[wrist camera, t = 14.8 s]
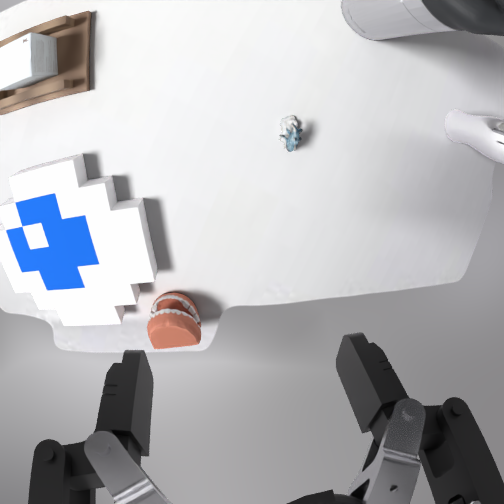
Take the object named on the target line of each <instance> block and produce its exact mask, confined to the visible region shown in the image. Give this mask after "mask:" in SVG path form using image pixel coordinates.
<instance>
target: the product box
mask: <svg viewBox="0 0 504 504" xmlns="http://www.w3.org/2000/svg"><path fill="white" fill-rule="evenodd" d="M57 75H58V64H57V38H55V37H51V36H46V35H42V34H37V33H32V32H31V33H28V34H26V35H24V36H22V37H20V38H18V39H16V40H14V41H12V42H10V43H8V44H6V45H5V46H3V47H1V48H0V91H3V90H12V89H20V88H26V87H29V86H31V85H33V84H36V83H38V82H41V81H43V80H46V79H49V78H51V77H54V76H57Z"/></svg>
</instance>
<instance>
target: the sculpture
mask: <svg viewBox="0 0 504 504" xmlns="http://www.w3.org/2000/svg"><path fill="white" fill-rule="evenodd" d="M280 126H281V131H282V132H281V133H282V135H280V139H279V140H280V141H281V142H282V143H284V149H285V148H286V149H287V150H288V151H289V152H291V151H293V150H294V151H295V149H296V147H297V145H298V142H299V141H300V140H301V137H299V134H300V132H302V129H297V127H298V123H297V121H296V120H295V116H289V117H286V118H282V120H281V123H280Z"/></svg>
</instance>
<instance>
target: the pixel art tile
mask: <svg viewBox="0 0 504 504" xmlns="http://www.w3.org/2000/svg"><path fill="white" fill-rule="evenodd" d="M9 181H10V185H11V189H12V193H13V198H10V199H8V200H7V201H6V202H4V203H3V204H2V205H0V214H1V218H2V221H3V224H0V259H1V262H2V264H3V267H4V269H5V271H6V274H7V276H8V278H9V280H10V282H11V285H12V287H13V289H14V291H15V293H21V292H31V294H32V296H33V298H34V300H35V302H36V304H37V306H38V308H39V310H45V309H56V311H57V313H58V315H59V317H60V319H61V321H62V323H63V324H64V326H80V325H107V324H121V323H122V320H123V316H124V312H125V308H124V306H123V305H134V304H137V301H138V297H139V293H140V288H139V285H138V283H147V282H155V279H156V274H157V270H158V268H157V263H156V259H155V255H154V250H153V246H152V241H151V236H150V231H149V227H148V222H147V216H146V211H145V206H144V200H143V198H138V199H131V200H124V201H118V202H117V197H116V192H115V187H114V182H113V176H107V177H101V178H96V179H91V180H88V178H87V173H86V168H85V163H84V157H83V154H80V155H75V156H71V157H67V158H63V159H59V160H55V161H52V162H48V163H44V164H41V165H37V166H34V167H30V168H27V169H24V170H21V171H19V172H17V173H15V174H14V175H12V176H10V177H9Z"/></svg>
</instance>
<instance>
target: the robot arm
mask: <svg viewBox="0 0 504 504" xmlns="http://www.w3.org/2000/svg"><path fill="white" fill-rule="evenodd" d="M341 8H342V13H343V15H344V18H345V20H346V21H347V23H348V25H349V26H350V27H351V28H352V29H353V30H354V31H355V32H356V33H358V34H359V35H361V36H363V37H365V38H367V39H371V40H383V39H389V38H396V37H402V36H409V35H416V34H425V33H434V32H445V31H460V30H461V31H462V30H466V31H468V32H471V33H475V34H486V35H499V36H504V0H342V7H341ZM336 368H337V372H338V374H339V377H340V379H341V382H342V384H343V387H344V389H345V391H346V394H347V396H348V399H349V401H350V404H351V406H352V409H353V411H354V414H355V416H356V418H357V421H358V424H359V426H360V429H361V431H362V433H365V432H368V431H371V432H372V434H373V437H372V439H371V441H370V444H369V447H368V449H367V452H366V455H365V457H364V460H363V463H362V465H361V468H360V470H359V472H358V475H357V476H356V478H355V479H354V481H353V483H352V484H351V486H350V488H349V490H348V492H347V494H346V495H342V494H334V493H333V490H328V491H325V492H321V493H316V494H311V495H307V496H304V497H301V498H299V499H297V500H295V501H292V502H290V503H287V504H410V501H411V498H412V495H413V491H414V488H415V485H416V481H417V478H418V474H419V470H420V465H421V463H422V466H423V468H424V471H425V474H426V477H427V480H428V482H429V485H430V488H431V491H432V494H433V497H434V500H435V503H436V504H504V483H503V480H502V478H501V476H500V473H499V471H498V468H497V466H496V463H495V461H494V459H493V457H492V454H491V452H490V450H489V448H488V446H487V444H486V441H485V439H484V437H483V435H482V433H481V431H480V429H479V427H478V425H477V423H476V421H475V419H474V417H473V415H472V413H471V411H470V409H469V408H468V405H467V404H466V403H465V402H464V401H463V400H462V399H460V398H456V397H452V398H449V399H447V400H446V401H445V402H444V403H443V405H437V406H423V405H422V404H421V403H420V402H419V401H417V400H415V399H411V398H409V397H408V395H407V393H406V391H405V389H404V388H403V386H402V384H401V382H400V380H399V379H398V377H397V375H396V373H395V372H394V370H393V369H392V366H391V364H390V362H388V359H387V357H386V355H385V353H384V352H383V350H382V349H381V348H380V347H378V346H377V345H376V344H375V343H368V341H367V339H366V337H365V335H364V334H363V333H355V334H348V335H344V336H343V339H342V342H341V345H340V348H339V352H338V355H337V358H336ZM104 384H105V386H104V388H103V395H102V397H101V403H100V408H99V413H98V418H97V424H96V429H95V431H94V433H93V434H91V435H90V436H89V437H88V438H87V440H85V441H83V442H80V443H75V444H68V445H61V444H59V443H58V442H57V441H55V440H51V439H47V440H44V441H41V442H40V443H39V444H38V445H37V446H36V449H35V451H34V456H33V463H32V471H31V479H30V489H29V500H28V504H95V493H96V488H101V487H106V488H107V490H108V491H109V493H110V494H111V495H112V497H113V499H114V501H115V502H114V503H115V504H172V503H171V502H170V501H169V500H168V499H167V498H166V497H165V495H164V494H163V493H162V492H161V491H160V490H159V488H158V487H157V486H156V485H155V484H154V483H153V481H152V480H151V479H150V478H149V476H148V475H147V474H146V473H145V471H144V470H143V469H142V468H141V465H140V464H141V456H149V443H150V425H151V410H152V397H153V376H152V372H151V369H150V366H149V363H148V360H147V357H146V354H145V352H144V350H125V352H124V355H123V360H122V363H114V364H113V365H112V366H111V368H110V369H109V371H108V372H107V374H106V379H105V383H104ZM417 455H419V458H420V460H421V462H420V460H418V459H417Z"/></svg>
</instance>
